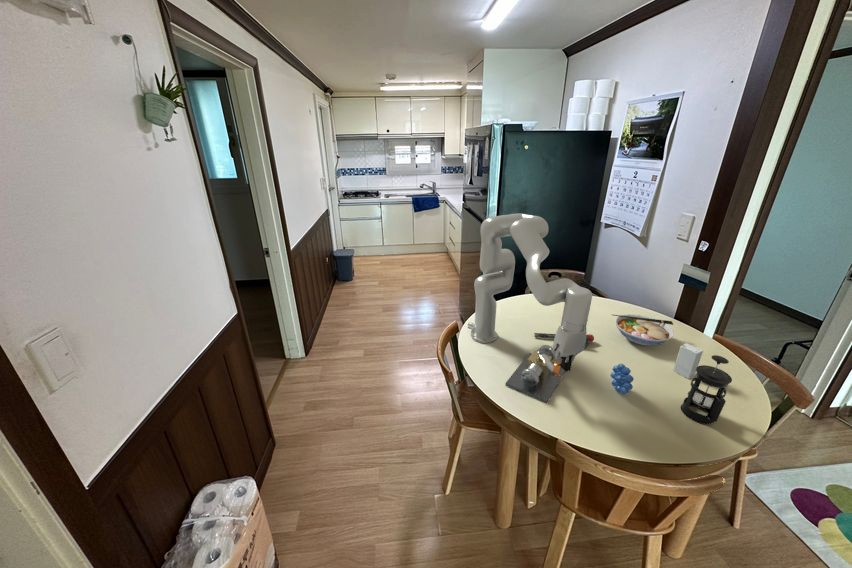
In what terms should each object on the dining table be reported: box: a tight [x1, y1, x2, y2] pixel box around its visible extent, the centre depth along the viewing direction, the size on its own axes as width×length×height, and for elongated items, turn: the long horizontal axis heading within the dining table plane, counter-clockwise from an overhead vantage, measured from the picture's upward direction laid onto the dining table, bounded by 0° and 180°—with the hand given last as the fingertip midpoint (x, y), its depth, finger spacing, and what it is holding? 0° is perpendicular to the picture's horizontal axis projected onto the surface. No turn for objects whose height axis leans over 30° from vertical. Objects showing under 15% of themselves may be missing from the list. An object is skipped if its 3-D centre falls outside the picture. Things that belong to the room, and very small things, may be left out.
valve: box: [533, 332, 595, 349], centre depth 156 cm, size 6×26×15 cm
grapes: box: [610, 363, 634, 395], centre depth 121 cm, size 12×7×12 cm, turn 178°
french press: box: [680, 354, 733, 425], centre depth 108 cm, size 12×9×23 cm
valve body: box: [504, 344, 566, 404], centre depth 130 cm, size 16×24×10 cm, turn 143°
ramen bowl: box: [611, 313, 674, 346], centre depth 152 cm, size 25×23×8 cm
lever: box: [536, 349, 561, 377], centre depth 121 cm, size 15×3×5 cm, turn 8°
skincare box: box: [672, 343, 704, 380], centre depth 130 cm, size 6×4×12 cm
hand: (565, 368), depth 116 cm, fingers closed
